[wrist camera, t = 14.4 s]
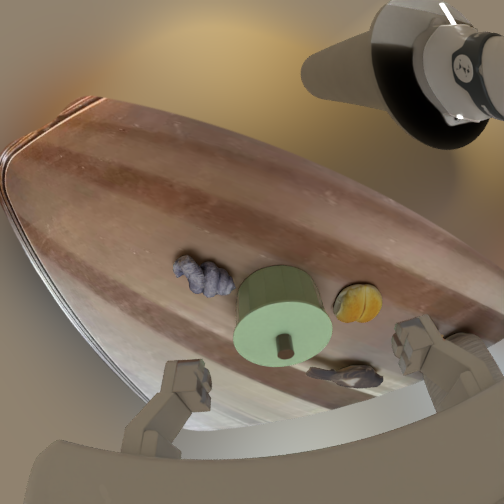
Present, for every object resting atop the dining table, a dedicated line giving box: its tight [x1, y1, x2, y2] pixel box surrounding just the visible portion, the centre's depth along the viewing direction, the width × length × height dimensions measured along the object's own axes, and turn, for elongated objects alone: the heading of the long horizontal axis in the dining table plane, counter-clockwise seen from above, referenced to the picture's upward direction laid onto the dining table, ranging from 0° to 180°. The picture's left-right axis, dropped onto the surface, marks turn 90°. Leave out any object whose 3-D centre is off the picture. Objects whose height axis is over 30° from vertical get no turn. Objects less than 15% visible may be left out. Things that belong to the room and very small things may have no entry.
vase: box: [423, 333, 504, 413], centre depth 48 cm, size 20×20×34 cm
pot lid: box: [233, 300, 332, 367], centre depth 39 cm, size 15×15×4 cm
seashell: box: [173, 255, 236, 297], centre depth 42 cm, size 5×5×10 cm
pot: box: [236, 265, 325, 325], centre depth 44 cm, size 14×14×8 cm
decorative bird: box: [306, 365, 383, 388], centre depth 58 cm, size 6×25×5 cm, turn 63°
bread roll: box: [334, 284, 382, 323], centre depth 47 cm, size 8×9×4 cm
